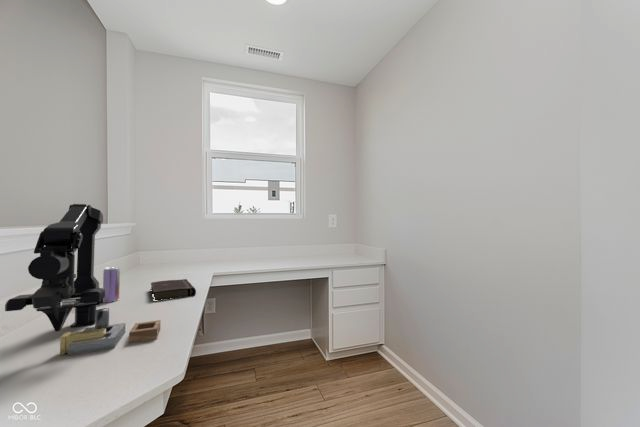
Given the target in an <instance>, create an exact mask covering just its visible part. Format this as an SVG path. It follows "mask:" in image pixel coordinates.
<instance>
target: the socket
mask: <svg viewBox="0 0 640 427" xmlns="http://www.w3.org/2000/svg"><path fill="white" fill-rule="evenodd" d="M89 330H95V326H91V327H85V328H84V330H82V331H89ZM125 333H126V322H120V323H114V324H109V332H106V337H104V338H97V339H91V340H84V341H77V342H70V343H69V350H68V353H67V354H68V356H72V355H73V356H74V355H79V354H80V355H81V354H85V353H92V352H97V351H105V350H112V349H115V348H116V347H117V345H118V343H119V342H120V341H121V339H123V337H124V335H125Z"/></svg>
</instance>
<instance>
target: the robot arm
mask: <svg viewBox="0 0 640 427" xmlns="http://www.w3.org/2000/svg"><path fill="white" fill-rule="evenodd" d="M103 223H104V215H103V213H102V211H101V209H97V208H94V207H93V206H92V205H91V204H87V203H73V204H69V207H68V210H67V212H66V213H65V214H64V215H63V217H61V219H60V220H59V222H55V223H51V224H48V225H47V226H46V227H45V228H43V231H40V233H39V237H38V238H37V242H36V244H35V247H34V250H33V254H39V256H37V257H35V258H33V259H32V260H31V261H30V263H29V264H28V267H27V270H28V273H29V275H30V276H31V277H32V278H35V279H37V280H42V282H41V286H40V288H38V289H37V290H36V291H35V292H34V293H29V294H20V295H17V296H14V297H12V298H9V299H8V300H7V301H5V304H4V306H5V307H4V311H5V312H13V311H14V312H15V311H21V310H23V309H24V308H25V307H27V306H32V308H33V309H35V311H36V312H42V313H44V315H45V316H47V318H48V319H49V320H48V321H50V324H51V326H52V327H53V329H54V331H55V332H60V331H61V330H62V329H63V328H64V325H65V323H66V321H67V319H68V317H69V315H70V313H71V312H72V310H73V309H74V322H72V323H71V325H69V327H70V328H73V327H83V326H90V325H95V312H96V310H97V306H100V305H103V304H104V302H103V298H104V297H105V290H104V289H103V287H100V282H99V281H98V279H97V278H96V277H95V276H94V272H95V271H94V269H95V268H94V267H95V243H96V242H95V241H96V240H95V239H96V238H95V237H96V235H97V233H98V232H99V231H100V230H101V227H102V224H103ZM75 252H77V253H76V254H77V257H76V255H75ZM75 257H76V258H77V262H75V260H76V258H75ZM75 263H76V265H75ZM75 266H76V268H75ZM75 269H76V273H75Z"/></svg>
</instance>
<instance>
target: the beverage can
mask: <svg viewBox="0 0 640 427" xmlns="http://www.w3.org/2000/svg"><path fill="white" fill-rule="evenodd" d="M120 277H121V268H120V267H119V266H110V267H104V269H103V274H102V279H103V280H102V288H103V289H104V290H105V297H104V298H103V303H105V302H109V303H113V302H112V301H115V302H117V301H116V300H118V301H119V299H120V285H121V284H120V281H121V278H120Z"/></svg>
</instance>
